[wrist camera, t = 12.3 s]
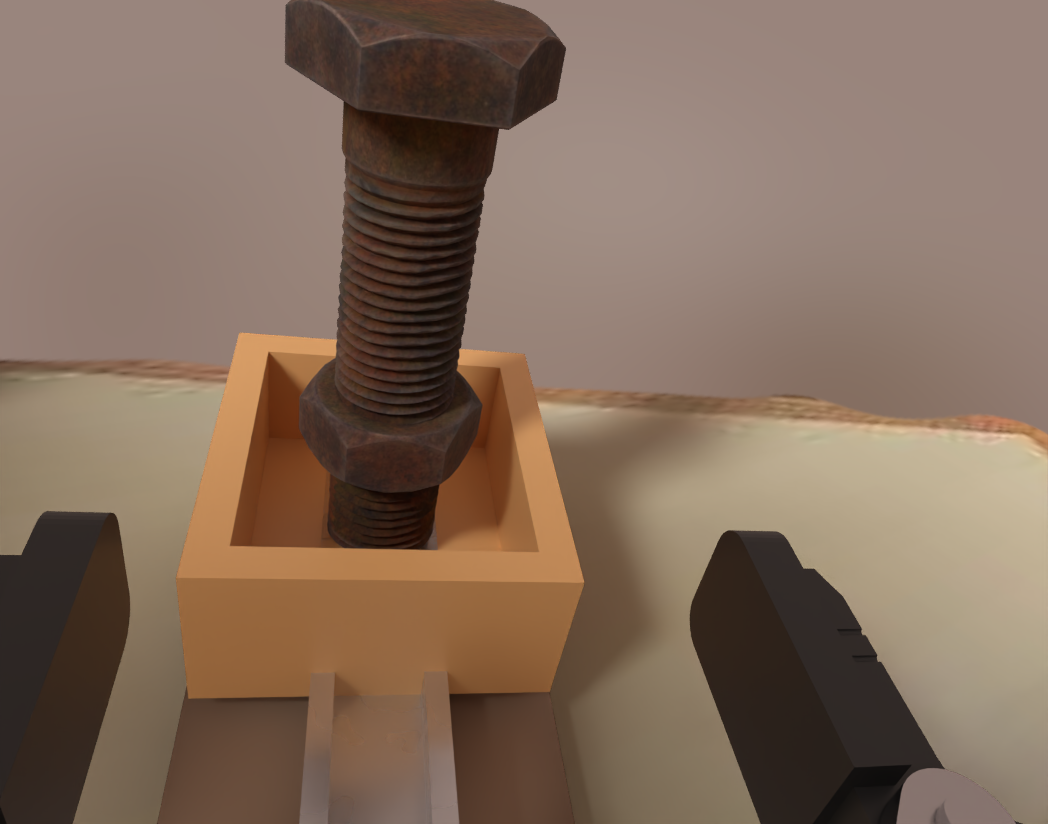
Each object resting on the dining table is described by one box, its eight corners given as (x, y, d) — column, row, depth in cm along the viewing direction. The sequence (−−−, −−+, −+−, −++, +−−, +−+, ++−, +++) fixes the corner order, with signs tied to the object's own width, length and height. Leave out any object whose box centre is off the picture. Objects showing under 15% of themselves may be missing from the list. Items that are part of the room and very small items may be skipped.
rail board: (94, 1186, 15) (83, 1164, 14) (239, 475, 31) (238, 444, 30) (608, 1116, 17) (625, 1093, 16) (498, 485, 33) (504, 456, 32)
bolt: (410, 630, 22) (494, 58, 14) (252, 563, 23) (239, -12, 15) (489, 506, 27) (589, 19, 18) (355, 453, 28) (390, -32, 19)
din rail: (277, 1139, 15) (277, 1108, 14) (329, 448, 31) (331, 410, 30) (466, 1114, 16) (479, 1083, 15) (422, 453, 31) (427, 416, 30)
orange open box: (188, 698, 21) (175, 578, 18) (242, 440, 29) (239, 332, 26) (549, 691, 23) (584, 582, 20) (504, 453, 31) (524, 354, 28)
